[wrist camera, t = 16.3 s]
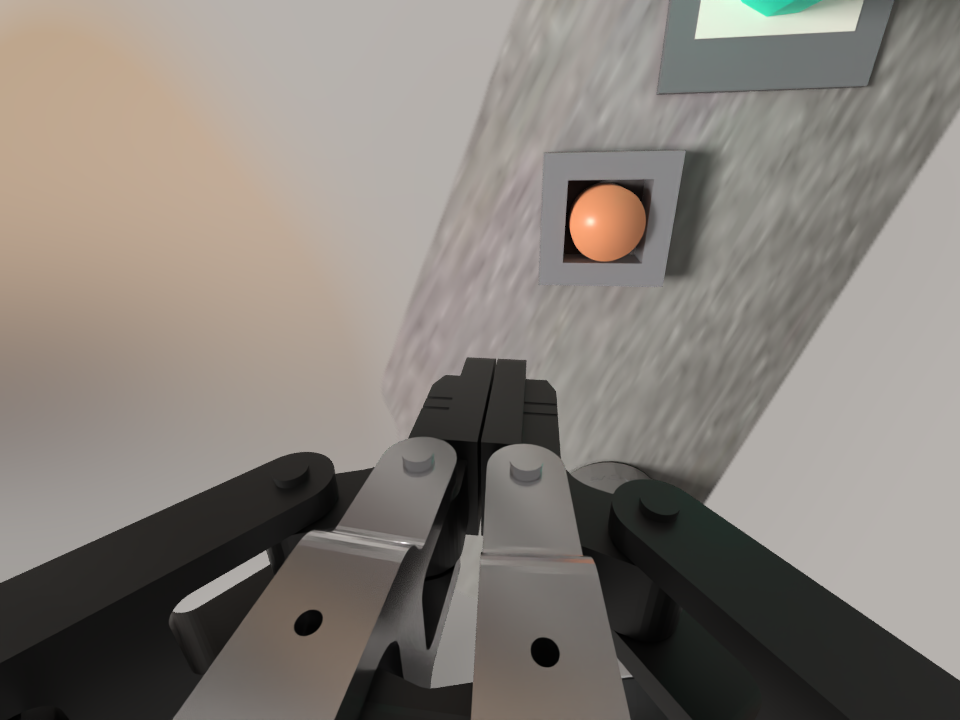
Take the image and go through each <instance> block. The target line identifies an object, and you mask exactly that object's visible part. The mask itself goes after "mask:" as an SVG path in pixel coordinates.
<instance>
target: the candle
mask: <svg viewBox="0 0 960 720" xmlns="http://www.w3.org/2000/svg"><path fill="white" fill-rule="evenodd" d="M741 1H742V3H744V4H746V5H747V6H749V7H751V8H752V9H754V10H756V11H758V12H759V13H761V14H763V15H764V16H766V17H769V16H776V15H784V14H791V13H798V12H801V11H803V10H804V9H806V8H808V7H810V6H812V5H814V4H816V3H818V2H820V1H822V0H741Z"/></svg>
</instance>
